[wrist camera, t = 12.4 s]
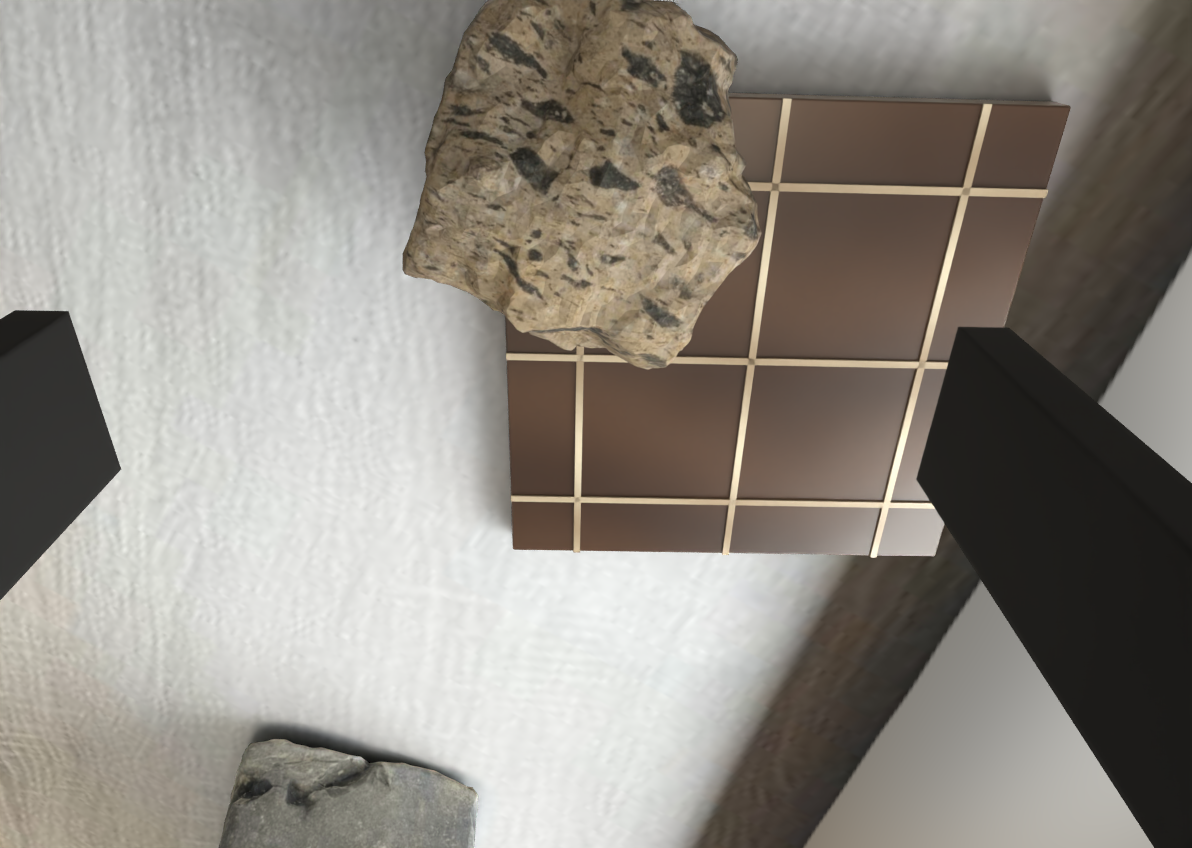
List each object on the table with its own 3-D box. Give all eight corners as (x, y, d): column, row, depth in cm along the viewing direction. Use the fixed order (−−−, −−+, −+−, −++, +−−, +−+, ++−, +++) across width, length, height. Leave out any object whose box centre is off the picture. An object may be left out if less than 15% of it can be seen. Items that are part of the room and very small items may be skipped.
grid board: (501, 85, 28) (497, 90, 27) (1054, 101, 28) (1074, 106, 27) (514, 534, 38) (512, 552, 37) (926, 541, 38) (936, 559, 37)
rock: (811, 89, 27) (849, 109, 23) (650, 366, 32) (660, 419, 28) (513, -80, 24) (501, -90, 21) (390, 251, 30) (362, 292, 26)
